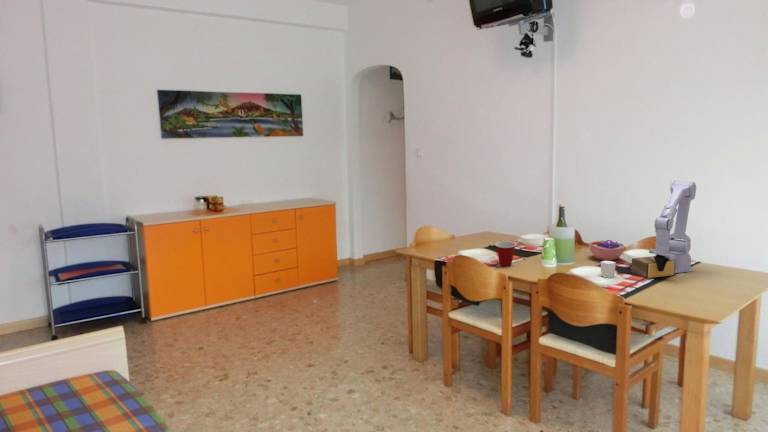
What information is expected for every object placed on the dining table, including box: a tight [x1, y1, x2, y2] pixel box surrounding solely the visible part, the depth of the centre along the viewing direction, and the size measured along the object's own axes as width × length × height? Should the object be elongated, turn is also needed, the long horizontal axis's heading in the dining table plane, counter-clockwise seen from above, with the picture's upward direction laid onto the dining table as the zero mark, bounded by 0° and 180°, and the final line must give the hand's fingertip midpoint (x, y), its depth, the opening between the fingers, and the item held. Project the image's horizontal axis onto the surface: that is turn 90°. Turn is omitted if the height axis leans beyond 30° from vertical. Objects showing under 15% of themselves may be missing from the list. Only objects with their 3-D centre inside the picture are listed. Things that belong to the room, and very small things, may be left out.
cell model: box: [588, 239, 626, 261], centre depth 290 cm, size 17×20×11 cm
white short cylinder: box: [600, 260, 617, 278], centre depth 258 cm, size 7×7×7 cm
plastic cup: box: [495, 240, 517, 268], centre depth 283 cm, size 11×11×12 cm
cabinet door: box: [647, 261, 676, 279], centre depth 255 cm, size 15×1×7 cm, turn 105°
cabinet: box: [630, 255, 671, 278], centre depth 261 cm, size 14×10×7 cm
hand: (660, 271), depth 253 cm, fingers closed
